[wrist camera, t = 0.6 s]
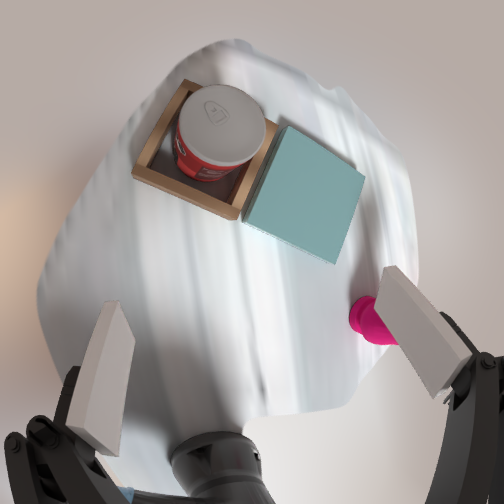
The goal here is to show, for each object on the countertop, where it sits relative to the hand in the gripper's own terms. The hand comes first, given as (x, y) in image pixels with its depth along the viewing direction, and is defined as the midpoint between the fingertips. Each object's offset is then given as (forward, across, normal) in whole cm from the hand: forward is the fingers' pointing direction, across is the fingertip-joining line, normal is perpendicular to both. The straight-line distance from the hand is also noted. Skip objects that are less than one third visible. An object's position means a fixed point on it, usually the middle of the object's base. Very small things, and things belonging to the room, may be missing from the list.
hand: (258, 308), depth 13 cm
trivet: (+25, -11, +4) cm, 27 cm away
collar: (+25, +2, -4) cm, 25 cm away
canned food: (+25, +2, -4) cm, 25 cm away
